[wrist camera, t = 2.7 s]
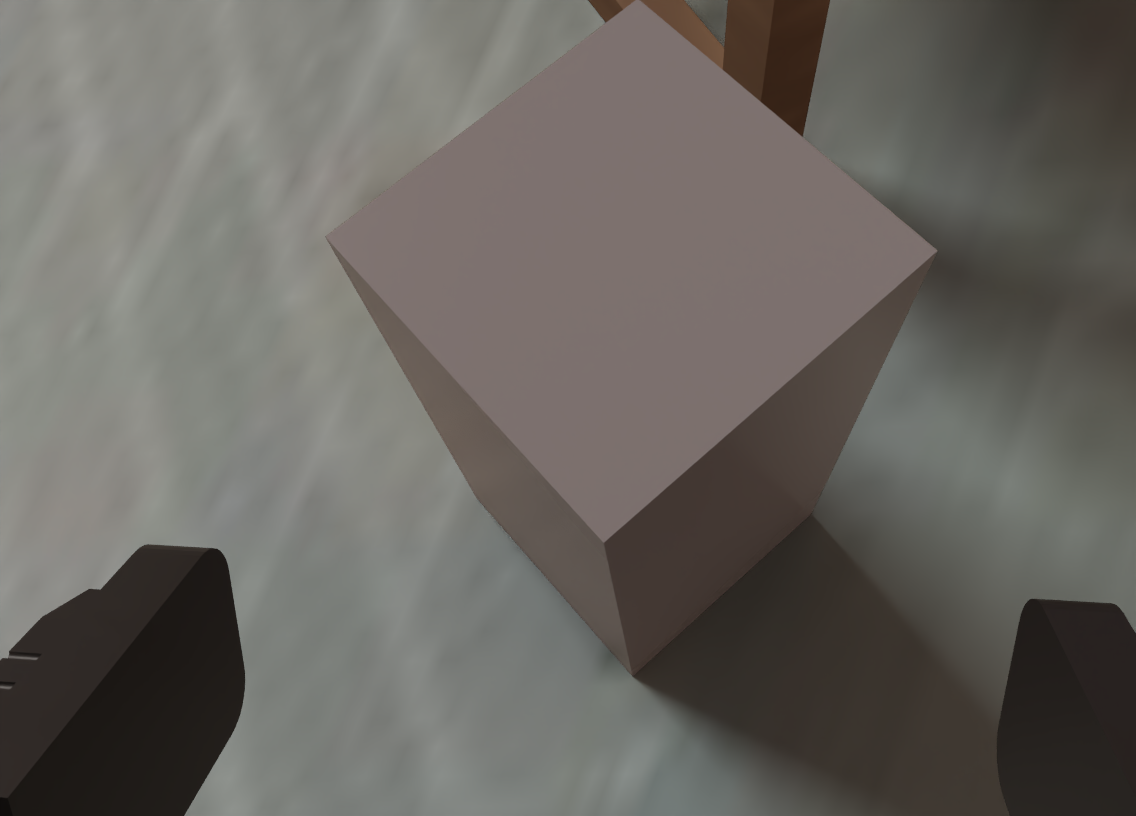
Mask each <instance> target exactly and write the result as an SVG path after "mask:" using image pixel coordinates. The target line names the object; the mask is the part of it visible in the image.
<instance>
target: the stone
mask: <svg viewBox="0 0 1136 816" xmlns="http://www.w3.org/2000/svg"><path fill="white" fill-rule="evenodd" d="M325 237H326V239H327V241H328V243H329V244H330V246H331V248H332V249H333V251H334V253H335V255H336V256H337V258H338V260H339V262H340V263H341V265H342V267H343V268H344V270H345V272H346V274H347V275H348V277H349V279H350V281H351V282H352V284H353V286H354V287H355V289H356V291H357V293H358V294H359V296H360V298H361V299H362V301H363V303H364V305H365V306H366V308H367V310H368V312H369V313H370V315H371V317H372V318H373V320H374V322H375V324H376V325H377V327H378V329H379V331H380V332H381V334H382V336H383V337H384V339H385V341H386V343H387V344H388V346H389V348H390V350H391V351H392V353H393V355H394V356H395V358H396V360H397V362H398V363H399V365H400V367H401V368H402V370H403V372H404V374H405V375H406V377H407V379H408V381H409V382H410V384H411V386H412V387H413V389H414V391H415V393H416V394H417V396H418V398H419V400H420V401H421V403H422V405H423V406H424V408H425V410H426V412H427V413H428V415H429V417H430V418H431V420H432V422H433V424H434V425H435V427H436V429H437V431H438V432H439V434H440V436H441V437H442V439H443V441H444V443H445V444H446V446H447V448H448V450H449V451H450V453H451V455H452V456H453V458H454V460H455V462H456V463H457V465H458V467H459V469H460V470H461V472H462V474H463V475H464V477H465V479H466V481H467V482H468V484H469V486H470V487H471V489H472V491H473V493H474V494H475V496H476V498H477V499H478V500H479V501H480V502H481V504H482V505H483V506H484V507H485V508H486V509H487V510H488V512H489V513H490V514H491V515H492V516H493V517H494V518H495V520H496V521H497V522H498V523H499V524H500V525H501V526H502V528H503V529H504V530H505V531H506V532H507V533H508V534H509V536H510V537H511V538H512V539H513V540H514V541H515V543H516V544H517V545H518V546H519V547H520V548H521V549H522V551H523V552H524V553H525V554H526V555H527V556H528V557H529V559H530V560H531V561H532V562H533V563H534V564H535V565H536V567H537V568H538V569H539V570H540V571H541V572H542V573H543V575H544V576H545V577H546V578H547V579H548V580H549V581H550V583H551V584H552V585H553V586H554V587H555V588H556V589H557V591H558V592H559V593H560V594H561V595H562V596H563V597H564V599H565V600H566V601H567V602H568V603H569V604H570V605H571V607H572V608H573V609H574V610H575V611H576V612H577V613H578V615H579V616H580V617H581V618H582V619H583V620H584V621H585V623H586V624H587V625H588V626H589V627H590V628H591V630H592V631H593V632H594V633H595V634H596V635H597V636H598V638H599V639H600V640H601V641H602V642H603V643H604V644H605V646H606V647H607V648H608V649H609V650H610V651H611V652H612V654H613V655H614V656H615V657H616V658H617V659H618V660H619V662H620V663H621V664H622V665H623V666H624V667H625V668H626V670H627V671H628V672H629V673H630V674H631V675H632V676H634V675H635V674H636V673H637V672H638V671H639V670H640V669H641V668H643V667H644V666H645V665H646V664H647V663H648V662H649V661H650V660H651V659H652V658H654V657H655V656H656V655H657V654H658V653H659V652H660V651H661V650H662V649H663V648H665V647H666V646H667V645H668V644H669V643H670V642H671V641H672V640H673V639H674V638H676V637H677V636H678V635H679V634H680V633H681V632H682V631H683V630H684V629H685V628H687V627H688V626H689V625H690V624H691V623H692V622H693V621H694V620H695V619H696V618H698V617H699V616H700V615H701V614H702V613H703V612H704V611H705V610H706V609H707V608H709V607H710V606H711V605H712V604H713V603H714V602H715V601H716V600H717V599H718V598H720V597H721V596H722V595H723V594H724V593H725V592H726V591H727V590H728V589H729V588H731V587H732V586H733V585H734V584H735V583H736V582H737V581H738V580H739V579H740V578H742V577H743V576H744V575H745V574H746V573H747V572H748V571H749V570H750V569H751V568H753V567H754V566H755V565H756V564H757V563H758V562H759V561H760V560H761V559H762V558H764V557H765V556H766V555H767V554H768V553H769V552H770V551H771V550H772V549H773V548H774V547H776V546H777V545H778V544H779V543H780V542H781V541H782V540H783V539H784V538H785V537H787V536H788V535H789V534H790V533H791V532H792V531H793V530H794V529H795V528H796V527H798V526H799V525H800V524H801V523H802V522H803V521H804V520H805V519H806V518H807V517H809V516H810V515H811V514H812V512H813V509H814V507H815V505H816V503H817V501H818V499H819V497H820V495H821V493H822V491H823V489H824V487H825V485H826V482H827V480H828V478H829V476H830V474H831V472H832V470H833V468H834V466H835V464H836V462H837V460H838V457H839V455H840V453H841V451H842V449H843V447H844V445H845V443H846V441H847V439H848V437H849V435H850V432H851V430H852V428H853V426H854V424H855V422H856V420H857V418H858V416H859V414H860V412H861V410H862V407H863V405H864V403H865V401H866V399H867V397H868V395H869V393H870V391H871V389H872V387H873V385H874V382H875V380H876V378H877V376H878V374H879V372H880V370H881V368H882V366H883V364H884V362H885V360H886V357H887V355H888V353H889V351H890V349H891V347H892V345H893V343H894V341H895V339H896V337H897V335H898V333H899V330H900V328H901V326H902V324H903V322H904V320H905V318H906V316H907V314H908V312H909V310H910V308H911V305H912V303H913V301H914V299H915V297H916V295H917V293H918V291H919V289H920V287H921V285H922V283H923V280H924V278H925V276H926V274H927V272H928V270H929V268H930V266H931V264H932V262H933V260H934V258H935V255H936V253H937V251H938V250H936V249H935V248H934V247H933V246H932V245H930V244H929V243H928V242H927V241H926V240H924V239H923V238H922V237H921V236H920V235H919V234H917V233H916V232H915V231H914V230H913V229H911V228H910V227H909V226H908V225H907V224H905V223H904V222H903V221H902V220H901V219H899V218H898V217H897V216H896V215H895V214H894V213H892V212H891V211H890V210H889V209H888V208H886V207H885V206H884V205H883V204H882V203H880V202H879V201H878V200H877V199H876V198H875V197H873V196H872V195H871V194H870V193H869V192H867V191H866V190H865V189H864V188H863V187H861V186H860V185H859V184H858V183H857V182H855V181H854V180H853V179H852V178H851V177H850V176H848V175H847V174H846V173H845V172H844V171H842V170H841V169H840V168H839V167H838V166H836V165H835V164H834V163H833V162H832V161H830V160H829V159H828V158H827V157H826V156H825V155H823V154H822V153H821V152H820V151H819V150H817V149H816V148H815V147H814V146H813V145H811V144H810V143H809V142H808V141H807V140H805V139H804V138H803V137H802V136H801V135H800V134H798V133H797V132H796V131H795V130H794V129H792V128H791V127H790V126H789V125H788V124H786V123H785V122H784V121H783V120H782V119H781V118H779V117H778V116H777V115H776V114H775V113H773V112H772V111H771V110H770V109H769V108H767V107H766V106H765V105H764V104H763V103H761V102H760V101H759V100H758V99H757V98H756V97H754V96H753V95H752V94H751V93H750V92H748V91H747V90H746V89H745V88H744V87H742V86H741V85H740V84H739V83H738V82H736V81H735V80H734V79H733V78H732V77H731V76H729V75H728V74H727V73H726V72H725V71H723V70H722V69H721V68H720V67H719V66H717V65H716V64H715V63H714V62H713V61H711V60H710V59H709V58H708V57H707V56H706V55H704V54H703V53H702V52H701V51H700V50H698V49H697V48H696V47H695V46H694V45H692V44H691V43H690V42H689V41H688V40H687V39H685V38H684V37H683V36H682V35H681V34H679V33H678V32H677V31H676V30H675V29H673V28H672V27H671V26H670V25H669V24H667V23H666V22H665V21H664V20H663V19H662V18H660V17H659V16H658V15H657V14H656V13H654V12H653V11H652V10H651V9H650V8H648V7H647V6H646V5H645V4H644V3H642V2H641V1H640V0H635V1H634V2H633V3H631V4H630V5H629V6H627V7H626V8H625V9H623V10H622V11H621V12H619V13H618V14H617V15H616V16H614V17H613V18H612V19H610V20H609V21H608V22H606V23H605V24H604V25H602V26H601V27H600V28H598V29H597V30H596V31H594V32H593V33H592V34H591V35H589V36H588V37H587V38H585V39H584V40H583V41H581V42H580V43H579V44H577V45H576V46H575V47H573V48H572V49H571V50H570V51H568V52H567V53H566V54H564V55H563V56H562V57H560V58H559V59H558V60H556V61H555V62H554V63H552V64H551V65H550V66H549V67H547V68H546V69H545V70H543V71H542V72H541V73H539V74H538V75H537V76H535V77H534V78H533V79H531V80H530V81H529V82H528V83H526V84H525V85H524V86H522V87H521V88H520V89H518V90H517V91H516V92H514V93H513V94H512V95H510V96H509V97H508V98H507V99H505V100H504V101H503V102H501V103H500V104H499V105H497V106H496V107H495V108H493V109H492V110H491V111H489V112H488V113H487V114H485V115H484V116H483V117H482V118H480V119H479V120H478V121H476V122H475V123H474V124H472V125H471V126H470V127H468V128H467V129H466V130H464V131H463V132H462V133H461V134H459V135H458V136H457V137H455V138H454V139H453V140H451V141H450V142H449V143H447V144H446V145H445V146H443V147H442V148H441V149H440V150H438V151H437V152H436V153H434V154H433V155H432V156H430V157H429V158H428V159H426V160H425V161H424V162H422V163H421V164H420V165H419V166H417V167H416V168H415V169H413V170H412V171H411V172H409V173H408V174H407V175H405V176H404V177H403V178H401V179H400V180H399V181H398V182H396V183H395V184H394V185H392V186H391V187H390V188H388V189H387V190H386V191H384V192H383V193H382V194H380V195H379V196H378V197H377V198H375V199H374V200H373V201H371V202H370V203H369V204H367V205H366V206H365V207H363V208H362V209H361V210H359V211H358V212H357V213H355V214H354V215H353V216H352V217H350V218H349V219H348V220H346V221H345V222H344V223H342V224H341V225H340V226H338V227H337V228H336V229H334V230H333V231H332V232H331V233H329V234H328V235H327V236H325Z"/></svg>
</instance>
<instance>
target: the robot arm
mask: <svg viewBox="0 0 1136 816" xmlns="http://www.w3.org/2000/svg"><path fill="white" fill-rule="evenodd" d="M244 691H245V670H244V662H243V656H242V650H241V643H240V637H239V631H238V624H237V618H236V612H235V606H234V599H233V593H232V587H231V580H230V574H229V569H228V564H227V561H226V559H225V557H224V555H223V554H222V552H221V551H220V550H218V549H214V548H199V547H182V546H165V545H149V544H148V545H144V546H142V547H140V548H139V549H138V550H137V551H136V552H135V553H134V554H133V555H132V556H131V557H130V558H129V559H128V560H127V561H126V562H125V564H124V565H123V566H122V567H121V568H120V569H119V570H118V571H117V572H116V573H115V574H114V576H113V577H112V578H111V579H110V580H109V581H108V582H107V583H106V584H105V585H104V587H103V588H102V589H101V590H97V589H88V590H87V591H85V592H83V593H82V594H80V595H78V596H77V597H75V598H73V599H72V600H70V601H68V602H67V603H65V604H63V605H62V606H60V607H58V608H57V609H55V610H53V611H51V612H50V613H48V614H46V615H45V616H43V617H42V618H41V619H40V620H39V621H38V622H37V623H36V624H35V625H34V626H33V627H32V628H31V629H30V630H29V631H28V632H27V633H26V634H25V635H24V636H23V637H22V639H21V640H20V641H19V642H18V643H17V644H16V645H15V646H14V647H13V648H12V649H11V650H10V651H9V657H8V659H7V658H2V659H1V660H0V816H184V815H185V813H186V812H187V810H188V808H189V806H190V805H191V803H192V801H193V800H194V798H195V796H196V794H197V793H198V791H199V789H200V788H201V786H202V784H203V783H204V781H205V779H206V777H207V776H208V774H209V772H210V771H211V769H212V767H213V765H214V764H215V762H216V760H217V759H218V757H219V755H220V754H221V752H222V750H223V748H224V747H225V745H226V743H227V742H228V740H229V738H230V737H231V735H232V733H233V731H234V729H235V727H236V724H237V722H238V719H239V716H240V713H241V709H242V704H243V699H244ZM997 763H998V773H999V780H1000V785H1001V790H1002V793H1003V797H1004V800H1005V803H1006V806H1007V808H1008V811H1009V814H1010V816H1136V633H1135V632H1134V630H1133V628H1132V627H1131V625H1130V623H1129V622H1128V620H1127V618H1126V617H1125V615H1124V613H1123V612H1122V611H1121V609H1120V608H1119V607H1118V606H1117V605H1115V604H1112V603H1095V602H1078V601H1062V600H1045V599H1030V600H1029V601H1028V602H1027V603H1026V604H1025V606H1024V608H1023V610H1022V613H1021V617H1020V621H1019V626H1018V631H1017V636H1016V641H1015V646H1014V651H1013V656H1012V661H1011V666H1010V671H1009V676H1008V681H1007V686H1006V691H1005V696H1004V701H1003V706H1002V711H1001V716H1000V721H999V727H998V736H997Z"/></svg>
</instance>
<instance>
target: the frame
mask: <svg viewBox="0 0 1136 816" xmlns="http://www.w3.org/2000/svg"><path fill="white" fill-rule="evenodd" d="M634 1H635V0H589V2H590V3H591V4H592V5H593V7H594V8H595V9H596V10H597V12H598V13H599V14H600V16H601V17H602V18H603V19H604V21H605V22H608V21H609V20H610V19H612V18H613V17H614V16H616V15H617V14H618V13H619V12H621V11H622V10H623V9H625V8H626V7H627V6H629V5H630V4H631V3H633V2H634ZM640 1H641V2H642V3H644V4H645V5H646V6H647V7H648V8H650V9H651V10H652V11H653V12H654V13H656V14H657V15H658V16H659V17H660V18H662V19H663V20H664V21H665V22H666V23H667V24H669V25H670V26H671V27H672V28H673V29H675V30H676V31H677V32H678V33H679V34H681V35H682V36H683V37H684V38H685V39H687V40H688V41H689V42H690V43H691V44H692V45H694V46H695V47H696V48H697V49H698V50H700V51H701V52H702V53H703V54H704V55H706V56H707V57H708V58H709V59H710V60H711V61H713V62H714V63H715V64H716V65H717V66H719V67H720V68H721V69H722V70H723V71H725V72H726V73H727V74H728V75H729V76H731V77H732V78H733V79H734V80H735V81H736V82H738V83H739V84H740V85H741V86H742V87H744V88H745V89H746V90H747V91H748V92H750V93H751V94H752V95H753V96H754V97H756V98H757V99H758V100H759V101H760V102H761V103H763V104H764V105H765V106H766V107H767V108H769V109H770V110H771V111H772V112H773V113H775V114H776V115H777V116H778V117H779V118H781V119H782V120H783V121H784V122H785V123H786V124H788V125H789V126H790V127H791V128H792V129H794V130H795V131H796V132H797V133H798V134H800V135H801V136H802V137H803V132H804V127H805V122H806V117H807V112H808V107H809V102H810V97H811V92H812V87H813V82H814V77H815V72H816V67H817V62H818V57H819V52H820V48H821V43H822V38H823V33H824V28H825V23H826V18H827V13H828V8H829V3H830V0H728V7H727V20H726V33H725V45H724V48H723V46H722V45H721V44H720V43H719V42H718V40H717V39H716V38H715V37H714V36H713V34H712V33H711V32H710V31H709V30H708V28H707V27H706V26H705V25H704V24H703V22H702V21H701V20H700V19H699V18H698V16H697V15H696V14H695V13H694V12H693V10H692V9H691V8H690V7H689V6H688V4H687V3H686V2H685V1H684V0H640Z"/></svg>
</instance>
